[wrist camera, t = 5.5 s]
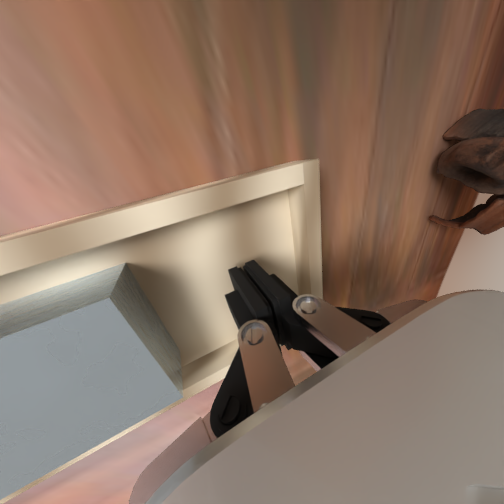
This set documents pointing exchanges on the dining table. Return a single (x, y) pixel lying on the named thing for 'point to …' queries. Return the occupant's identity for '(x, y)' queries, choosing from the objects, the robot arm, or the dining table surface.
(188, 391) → the tray
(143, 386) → the cover plate
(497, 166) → the pottery mug
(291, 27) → the dining table surface
